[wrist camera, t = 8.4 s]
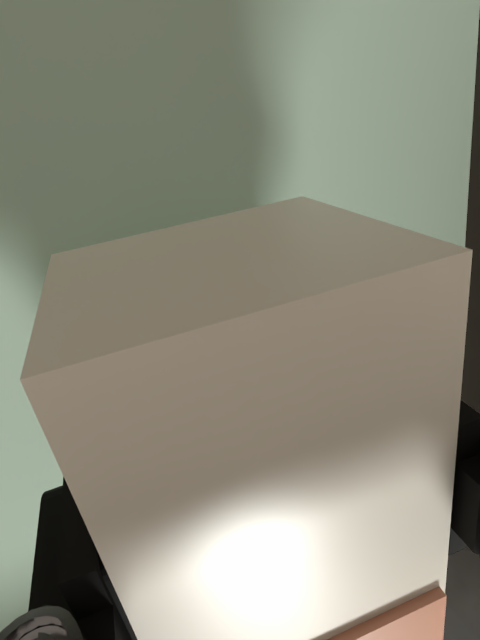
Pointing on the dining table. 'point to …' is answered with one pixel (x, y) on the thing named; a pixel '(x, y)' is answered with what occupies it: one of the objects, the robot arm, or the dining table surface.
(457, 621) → the dining table surface
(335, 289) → the card deck
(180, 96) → the mat
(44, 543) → the robot arm
